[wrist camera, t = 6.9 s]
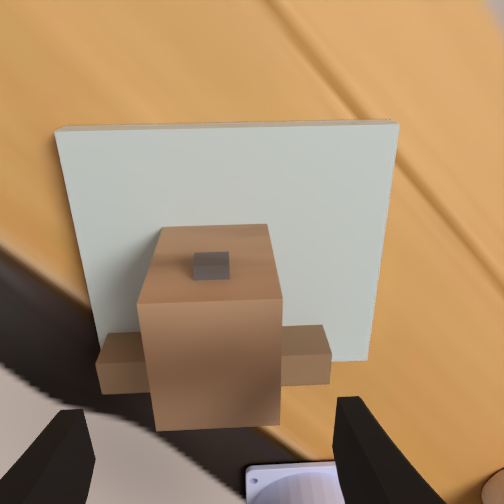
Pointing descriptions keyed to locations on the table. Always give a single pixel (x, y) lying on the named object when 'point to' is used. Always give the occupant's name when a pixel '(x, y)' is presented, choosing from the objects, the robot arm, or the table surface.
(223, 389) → the cabinet block
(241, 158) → the wall board
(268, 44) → the table surface
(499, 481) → the candle
